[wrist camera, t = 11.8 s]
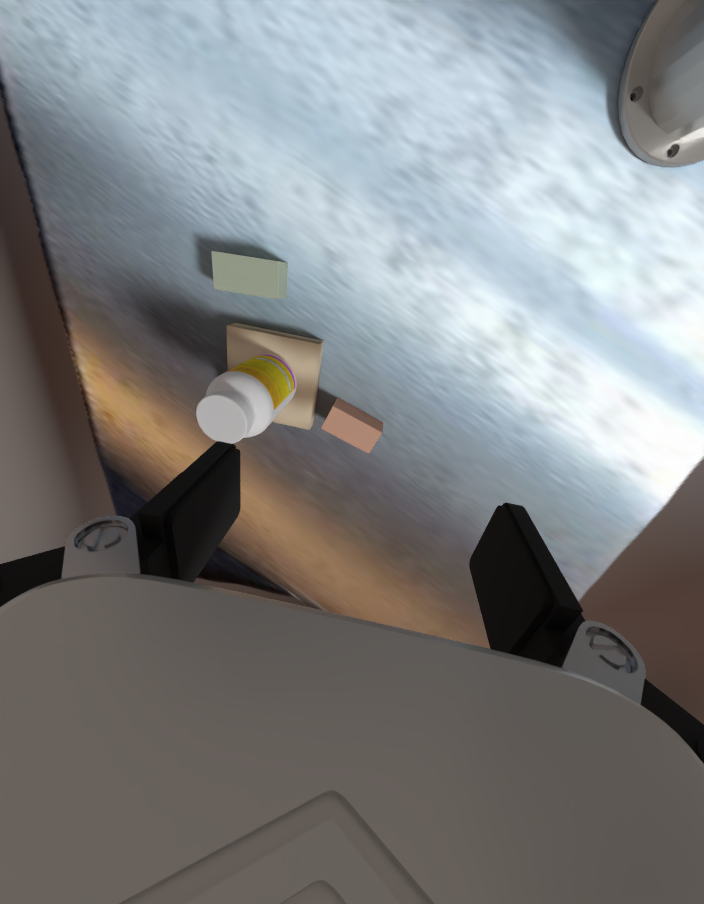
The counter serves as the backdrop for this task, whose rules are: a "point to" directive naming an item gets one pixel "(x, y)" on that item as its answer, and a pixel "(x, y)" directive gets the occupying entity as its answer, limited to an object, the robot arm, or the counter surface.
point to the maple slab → (295, 352)
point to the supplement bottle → (246, 398)
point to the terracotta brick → (353, 425)
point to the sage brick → (249, 275)
